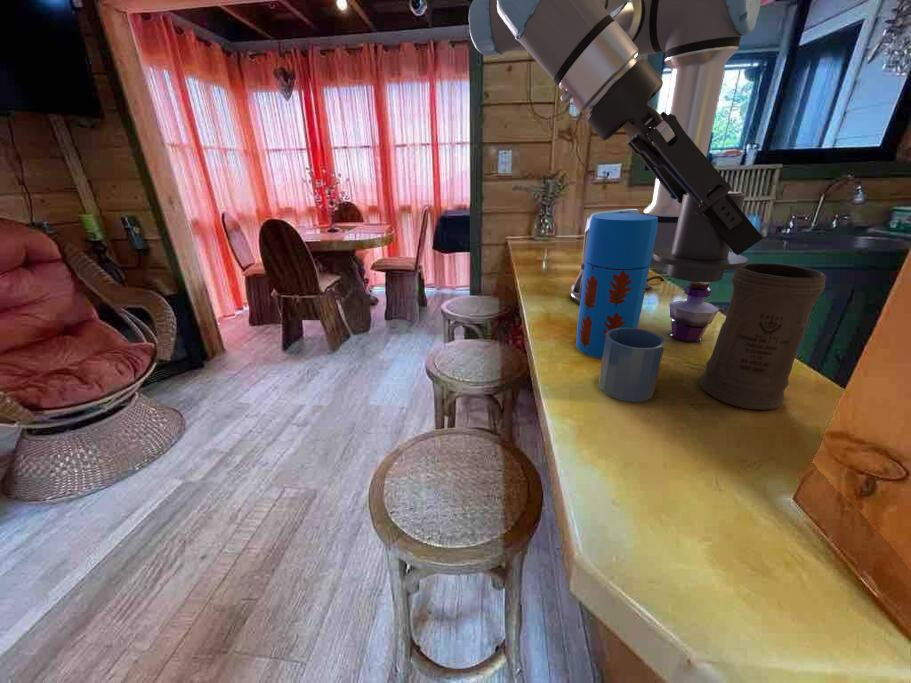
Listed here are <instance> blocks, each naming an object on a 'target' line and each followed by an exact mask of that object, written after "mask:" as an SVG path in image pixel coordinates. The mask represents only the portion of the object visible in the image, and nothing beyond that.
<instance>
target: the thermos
mask: <svg viewBox="0 0 911 683" xmlns="http://www.w3.org/2000/svg"><path fill="white" fill-rule="evenodd" d="M657 226H658V217H656V216H652V215H644V214H643V213H639V214H624V213H614V214H598V215H593V216H592V219H591V223H590V227H589V235H588V243H587V252H586V261H585V268H584V276H583V284H582V292H581V300H580V304H579V308H578V317H577V324H576V325H577V326H576V342H575V345H576V349H577V350H579V352H581V353H582V354H585V356H586V355H587V356H589V357H592V358H596V359H601V360H602V356H603V349H604V343H605V337H606V333H607V332H608V331H609V330H611V329H615V328H624V327H628V328H638V329H639V324H640V318H641V314H642V309H643V303H644V299H645V293H646V290H645V288H646V287H647V286H646V283H647V284H648V282H647V279H648V278H649V272H650V269H651V268H650V263H651V258H652V253H653V248H654V243H655V237H656V232H657Z"/></svg>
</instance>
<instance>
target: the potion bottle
mask: <svg viewBox="0 0 911 683" xmlns="http://www.w3.org/2000/svg"><path fill="white" fill-rule="evenodd" d="M710 284H711V282H693V281H689V285H686V286H685V288H684V292H683V293H684V294H685V295H687V298H686V299H676V300H673V301H671V302H669V318H671V320H670V323H671V324H670V325H671V326H670V327H671V334H670V336H671V337H672V338H673V339H674V340H677V341H681V342H684V343H698V342H700V341H702V337H703V335H704V333H705V332H706V330H707V328H708V327H709V325H711V324H712V322H713V321H714V319H715V318H716V316H717V314H718V312H719V311H720V309H719V307H717V306H715V305H714V304H712V303H710V302H705V299H706V298H709V297H710V296H711V294H712V288H711V287H710Z"/></svg>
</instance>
